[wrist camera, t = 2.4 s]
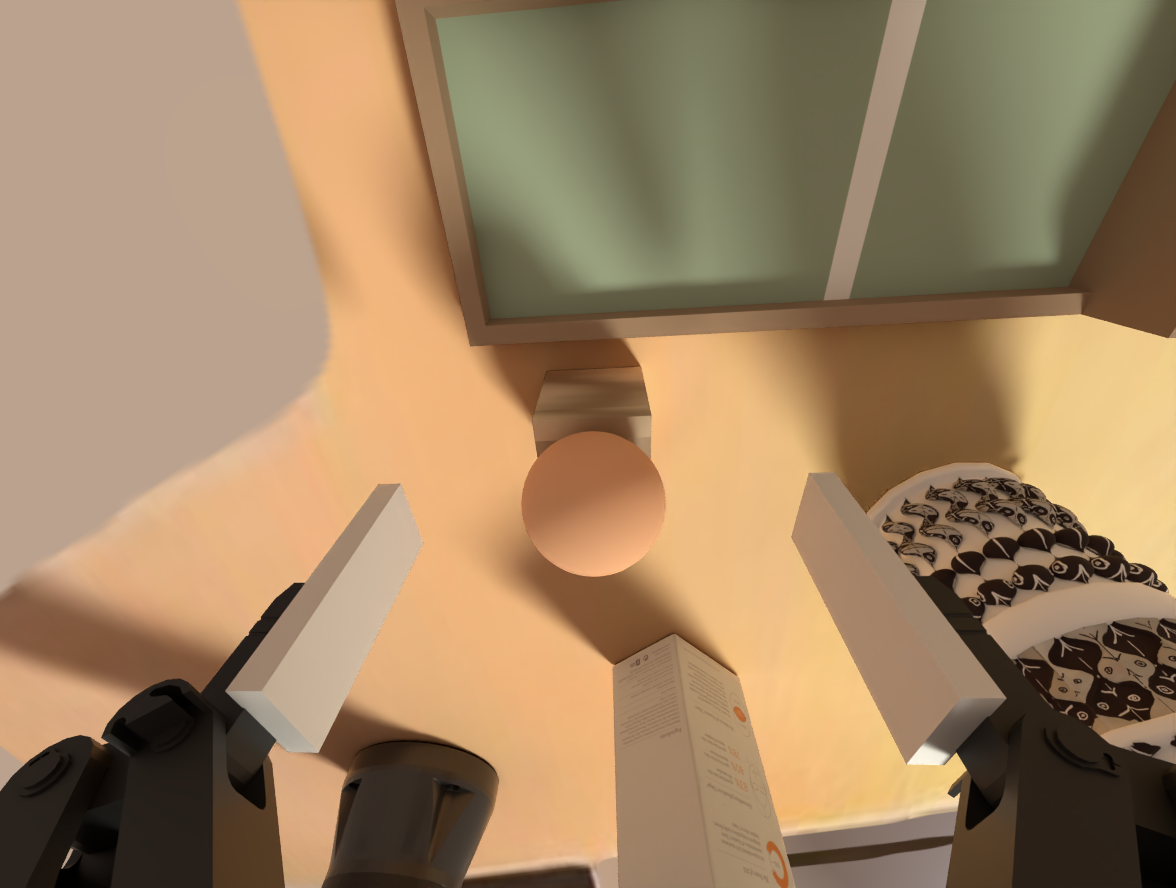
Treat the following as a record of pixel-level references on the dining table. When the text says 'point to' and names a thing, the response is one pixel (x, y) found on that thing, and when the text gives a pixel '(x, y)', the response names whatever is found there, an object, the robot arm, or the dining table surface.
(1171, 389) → the dining table surface
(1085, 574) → the decorative candle
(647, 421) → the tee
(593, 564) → the ball
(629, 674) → the small box
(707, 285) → the tray
